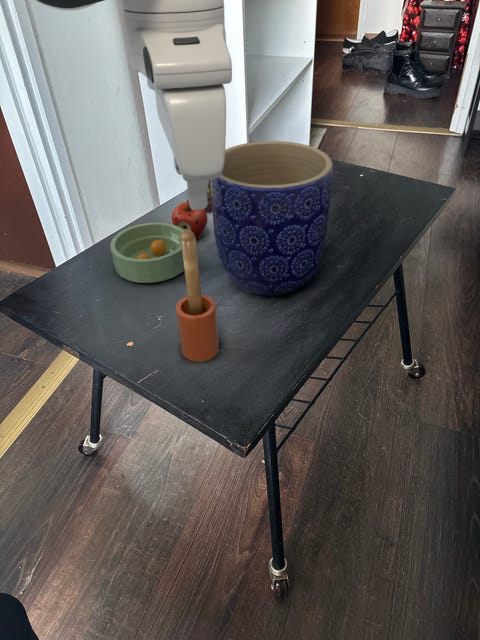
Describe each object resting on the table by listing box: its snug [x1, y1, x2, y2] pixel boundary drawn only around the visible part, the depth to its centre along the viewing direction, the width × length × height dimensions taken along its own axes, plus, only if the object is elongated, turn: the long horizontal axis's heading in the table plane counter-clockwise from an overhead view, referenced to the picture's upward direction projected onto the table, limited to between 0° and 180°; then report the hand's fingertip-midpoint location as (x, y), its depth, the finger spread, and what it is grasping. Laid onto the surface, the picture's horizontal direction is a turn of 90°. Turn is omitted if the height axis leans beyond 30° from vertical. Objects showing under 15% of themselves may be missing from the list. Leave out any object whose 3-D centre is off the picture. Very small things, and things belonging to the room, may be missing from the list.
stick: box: [181, 230, 203, 315], centre depth 63 cm, size 2×2×19 cm
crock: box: [175, 293, 220, 363], centre depth 67 cm, size 5×5×8 cm
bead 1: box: [137, 253, 152, 259], centre depth 85 cm, size 3×3×3 cm
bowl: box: [109, 222, 185, 284], centre depth 86 cm, size 14×14×5 cm
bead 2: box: [150, 240, 167, 256], centre depth 88 cm, size 3×3×3 cm
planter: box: [210, 140, 334, 297], centre depth 77 cm, size 18×18×21 cm
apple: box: [171, 188, 210, 240], centre depth 92 cm, size 8×7×10 cm
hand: (190, 188), depth 52 cm, fingers open, 8 cm apart
